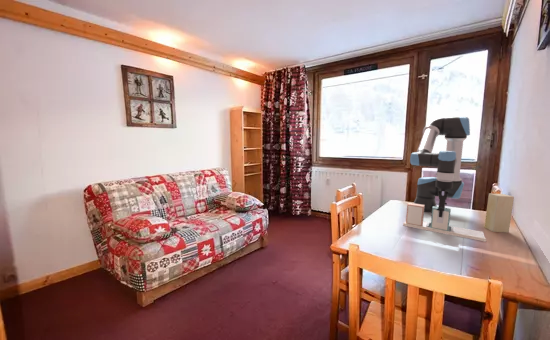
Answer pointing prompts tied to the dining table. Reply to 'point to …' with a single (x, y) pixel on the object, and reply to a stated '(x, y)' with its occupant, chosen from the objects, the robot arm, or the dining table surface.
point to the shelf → (452, 231)
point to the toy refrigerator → (499, 212)
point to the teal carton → (445, 221)
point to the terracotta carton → (415, 214)
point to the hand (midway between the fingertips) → (440, 219)
